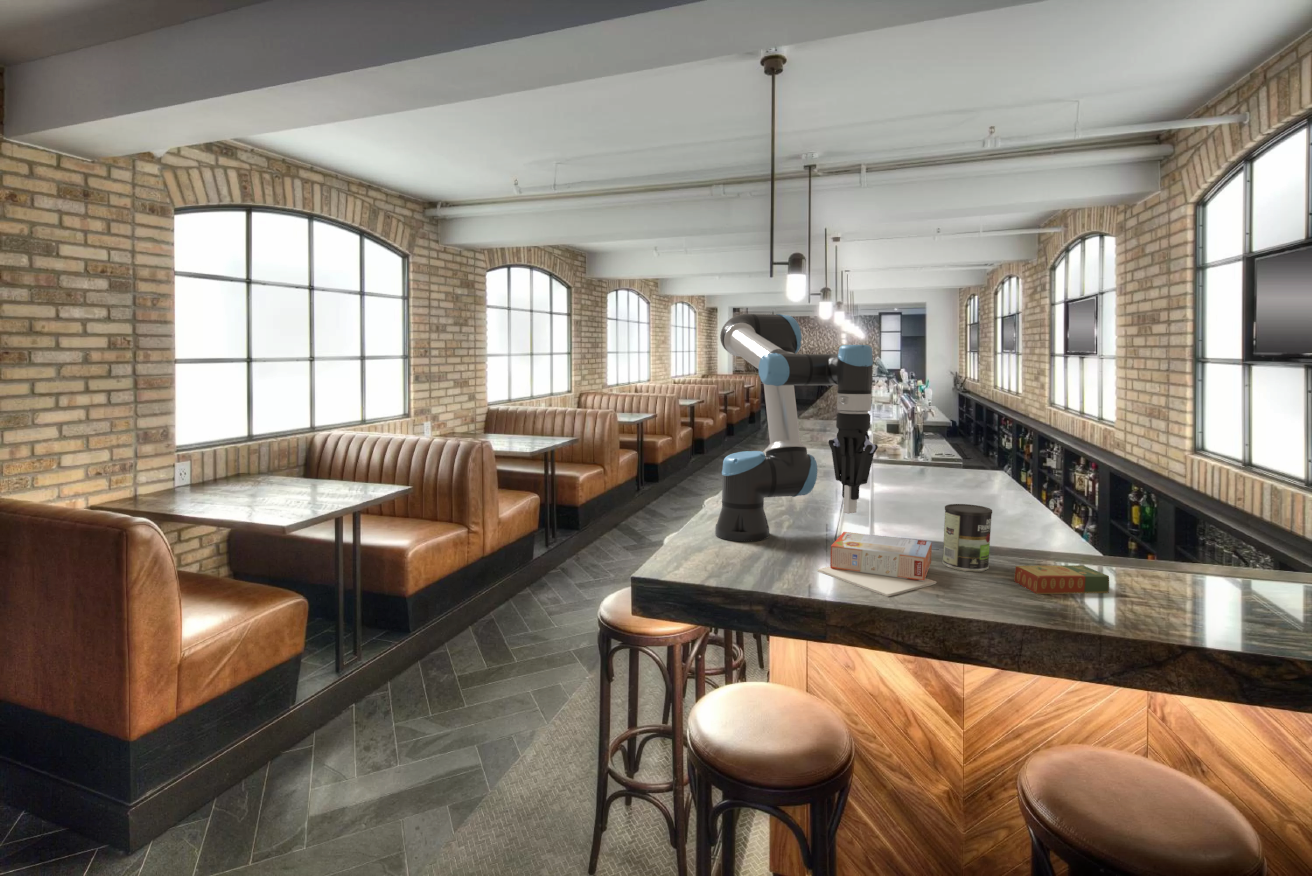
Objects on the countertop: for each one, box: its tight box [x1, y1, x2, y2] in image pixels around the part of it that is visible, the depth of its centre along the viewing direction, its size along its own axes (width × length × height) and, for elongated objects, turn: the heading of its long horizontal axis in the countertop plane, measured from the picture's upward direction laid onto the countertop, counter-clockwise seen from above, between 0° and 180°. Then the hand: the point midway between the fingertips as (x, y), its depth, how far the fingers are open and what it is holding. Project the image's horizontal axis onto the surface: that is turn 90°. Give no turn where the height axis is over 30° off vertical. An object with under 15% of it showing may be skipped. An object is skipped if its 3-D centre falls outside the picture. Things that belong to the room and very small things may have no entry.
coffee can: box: [942, 503, 993, 573], centre depth 160 cm, size 10×10×14 cm
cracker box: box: [829, 531, 933, 581], centre depth 157 cm, size 14×6×21 cm
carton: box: [1013, 564, 1110, 595], centre depth 145 cm, size 8×16×4 cm, turn 94°
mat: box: [816, 566, 937, 597], centre depth 151 cm, size 20×16×1 cm
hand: (849, 512), depth 157 cm, fingers closed
